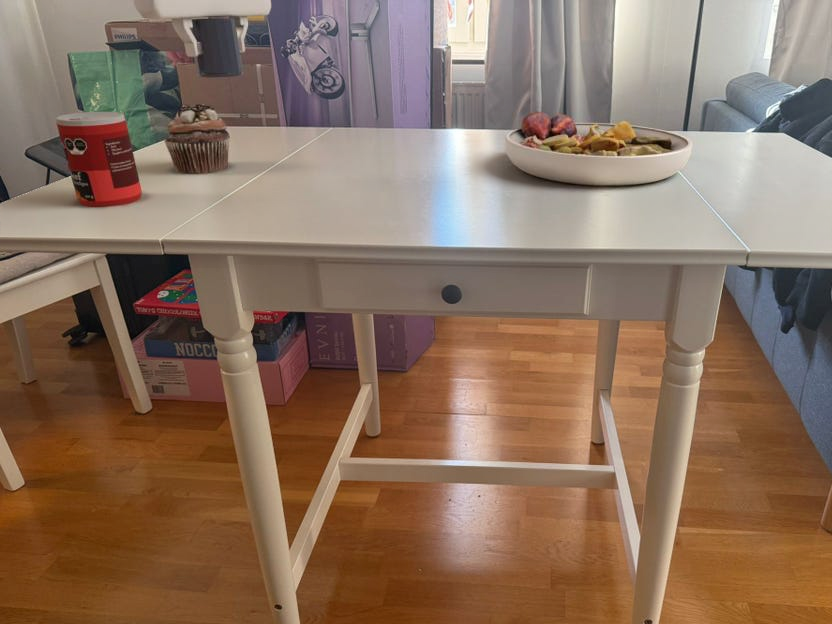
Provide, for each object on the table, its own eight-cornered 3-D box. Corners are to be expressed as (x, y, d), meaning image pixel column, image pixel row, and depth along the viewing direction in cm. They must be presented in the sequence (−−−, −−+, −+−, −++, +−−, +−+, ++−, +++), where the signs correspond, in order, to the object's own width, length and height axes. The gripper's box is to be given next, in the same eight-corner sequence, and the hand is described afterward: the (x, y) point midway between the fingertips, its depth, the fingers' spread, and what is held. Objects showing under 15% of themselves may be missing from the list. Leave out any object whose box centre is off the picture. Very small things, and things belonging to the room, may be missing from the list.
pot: (188, 76, 93) (177, 19, 90) (222, 72, 98) (213, 18, 94) (219, 78, 90) (209, 20, 87) (252, 74, 95) (244, 18, 92)
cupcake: (216, 160, 115) (205, 97, 110) (244, 169, 109) (234, 103, 104) (160, 168, 109) (146, 103, 104) (187, 179, 103) (173, 110, 98)
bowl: (714, 165, 114) (723, 117, 111) (638, 202, 93) (646, 144, 89) (562, 144, 130) (565, 101, 126) (467, 171, 109) (467, 120, 105)
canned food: (78, 197, 93) (55, 113, 88) (141, 190, 97) (123, 110, 91) (78, 211, 87) (53, 122, 82) (145, 203, 91) (125, 118, 85)
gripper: (240, -58, 95) (256, 49, 102) (109, -69, 80) (138, 59, 86) (273, -60, 93) (287, 50, 99) (145, -71, 77) (171, 61, 84)
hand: (216, 54), depth 93 cm, fingers closed on pot, 6 cm apart
